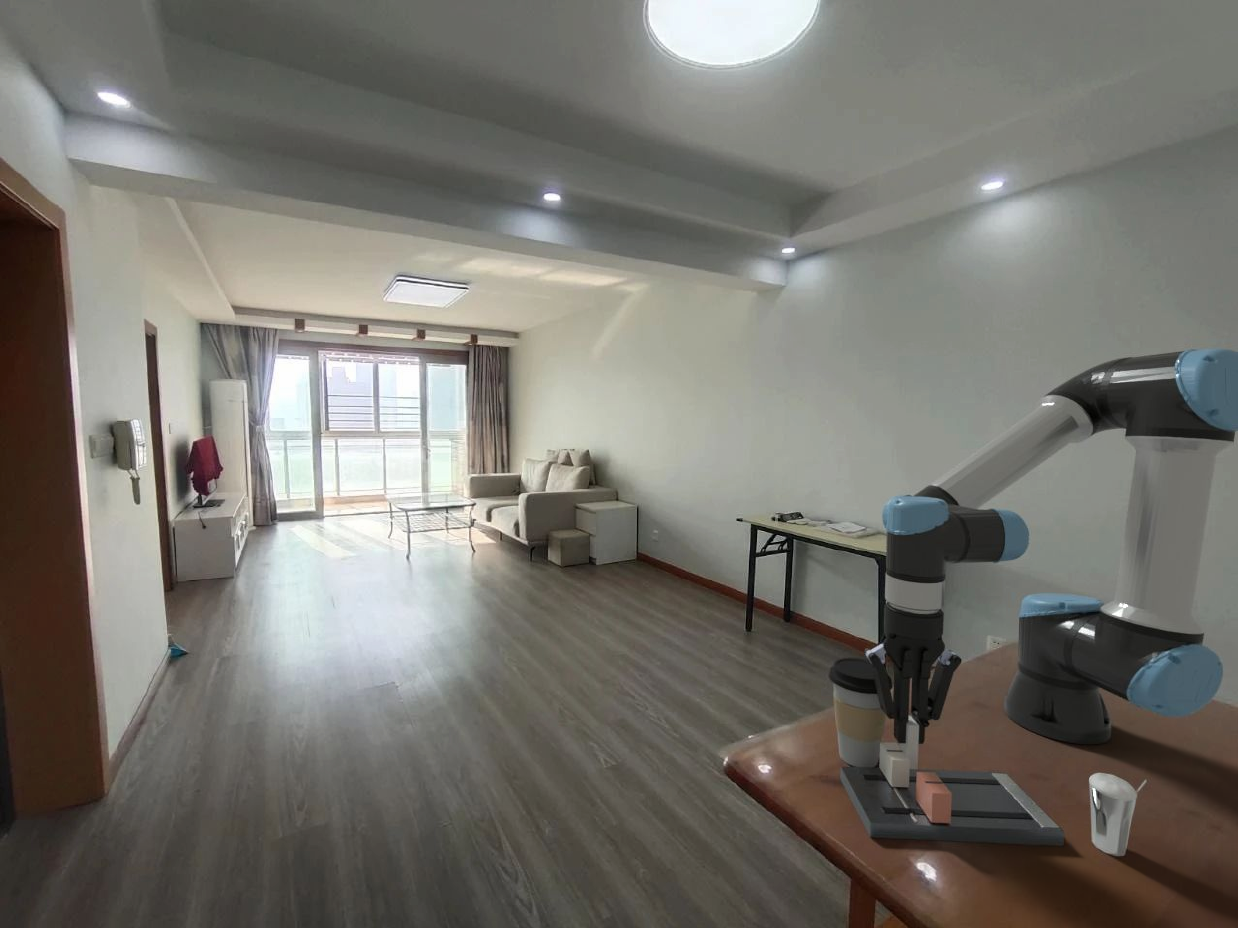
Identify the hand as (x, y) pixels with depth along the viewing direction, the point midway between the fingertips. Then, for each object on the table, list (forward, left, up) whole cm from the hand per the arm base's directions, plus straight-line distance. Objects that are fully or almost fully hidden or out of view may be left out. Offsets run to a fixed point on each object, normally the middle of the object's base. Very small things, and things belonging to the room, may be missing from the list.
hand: (907, 762), depth 81 cm
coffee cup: (+4, -8, -5) cm, 10 cm away
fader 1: (+2, 0, -2) cm, 3 cm away
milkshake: (-21, +9, -5) cm, 24 cm away
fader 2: (0, +7, -2) cm, 7 cm away
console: (-3, +3, -5) cm, 7 cm away
